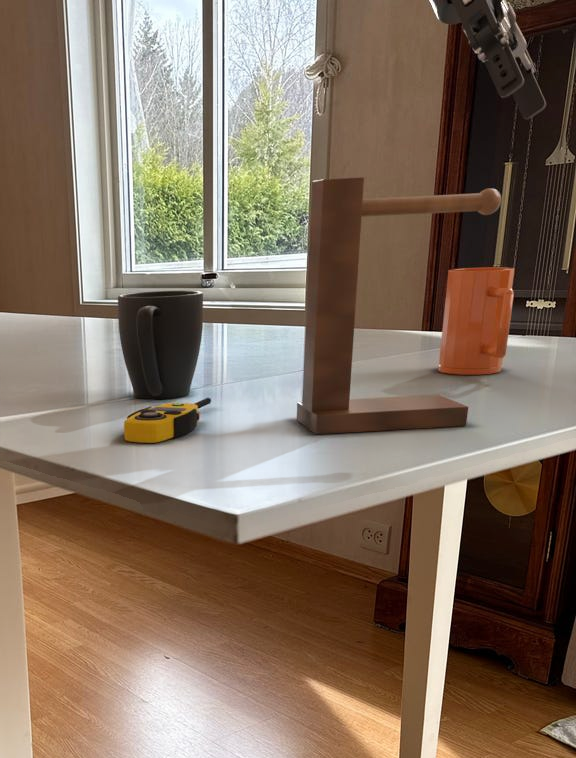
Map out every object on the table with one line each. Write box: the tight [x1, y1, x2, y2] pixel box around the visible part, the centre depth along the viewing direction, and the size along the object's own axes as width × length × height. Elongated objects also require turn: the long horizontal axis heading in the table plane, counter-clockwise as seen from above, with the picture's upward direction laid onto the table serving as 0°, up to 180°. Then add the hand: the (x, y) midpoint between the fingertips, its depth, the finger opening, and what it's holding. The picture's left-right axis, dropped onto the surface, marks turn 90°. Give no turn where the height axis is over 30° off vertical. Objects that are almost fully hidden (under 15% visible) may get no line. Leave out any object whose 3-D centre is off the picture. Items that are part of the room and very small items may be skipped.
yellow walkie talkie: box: [123, 397, 212, 444], centre depth 77 cm, size 5×2×15 cm
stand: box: [296, 176, 502, 435], centre depth 71 cm, size 14×6×18 cm, turn 93°
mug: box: [117, 290, 204, 400], centre depth 88 cm, size 8×12×10 cm
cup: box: [437, 266, 515, 376], centre depth 93 cm, size 10×6×10 cm, turn 3°
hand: (525, 102), depth 88 cm, fingers open, 8 cm apart
